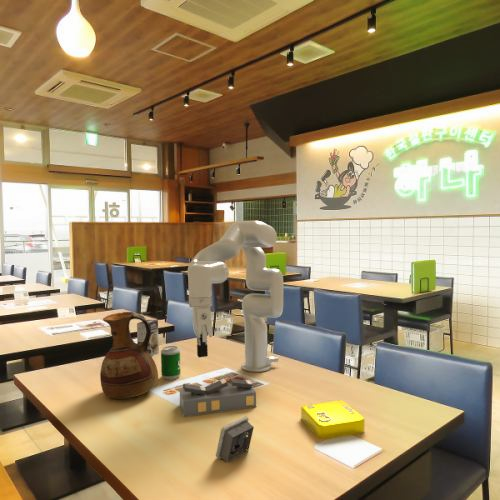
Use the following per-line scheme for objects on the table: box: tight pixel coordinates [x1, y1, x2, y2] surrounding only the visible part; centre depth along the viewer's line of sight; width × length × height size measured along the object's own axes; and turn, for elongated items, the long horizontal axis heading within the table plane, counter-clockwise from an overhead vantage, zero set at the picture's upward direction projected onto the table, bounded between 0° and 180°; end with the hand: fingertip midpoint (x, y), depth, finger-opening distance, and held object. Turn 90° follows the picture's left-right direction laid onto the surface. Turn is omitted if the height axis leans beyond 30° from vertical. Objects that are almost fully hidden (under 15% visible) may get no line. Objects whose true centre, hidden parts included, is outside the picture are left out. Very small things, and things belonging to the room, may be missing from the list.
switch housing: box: [179, 383, 257, 418], centre depth 142 cm, size 24×10×6 cm, turn 107°
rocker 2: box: [204, 378, 229, 395], centre depth 142 cm, size 7×4×1 cm, turn 106°
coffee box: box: [136, 319, 160, 357], centre depth 202 cm, size 9×6×16 cm
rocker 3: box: [229, 378, 253, 388], centre depth 145 cm, size 7×4×1 cm, turn 107°
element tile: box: [300, 400, 365, 440], centre depth 127 cm, size 15×15×5 cm
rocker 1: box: [182, 383, 206, 395], centre depth 140 cm, size 7×4×1 cm, turn 107°
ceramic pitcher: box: [99, 311, 159, 400], centre depth 154 cm, size 20×20×30 cm
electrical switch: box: [215, 416, 255, 464], centre depth 111 cm, size 9×5×9 cm, turn 136°
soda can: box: [160, 345, 181, 381], centre depth 170 cm, size 8×8×12 cm
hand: (202, 356), depth 141 cm, fingers closed
